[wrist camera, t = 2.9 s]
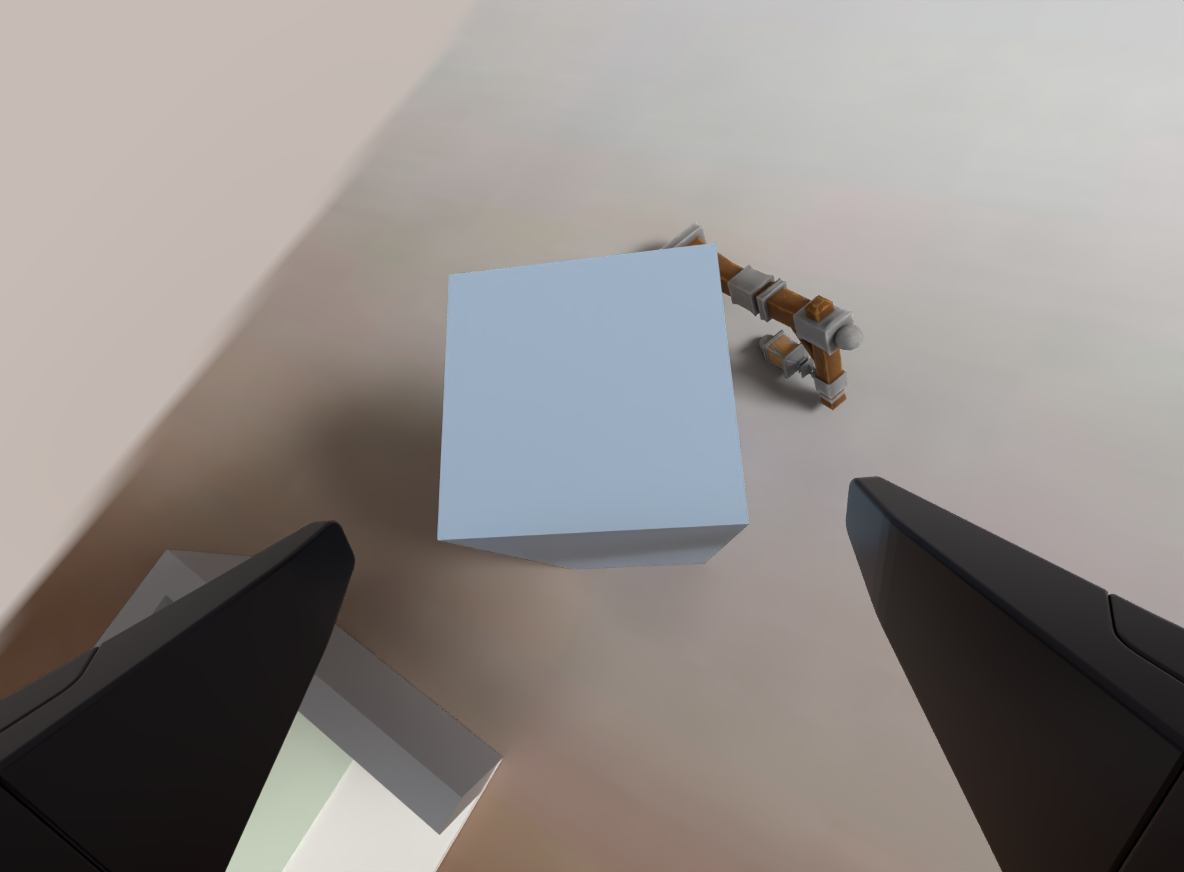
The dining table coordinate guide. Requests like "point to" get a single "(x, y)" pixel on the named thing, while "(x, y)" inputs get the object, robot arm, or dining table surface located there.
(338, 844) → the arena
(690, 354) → the slate block
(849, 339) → the wooden post with brackets
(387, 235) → the dining table surface
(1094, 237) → the dining table surface
